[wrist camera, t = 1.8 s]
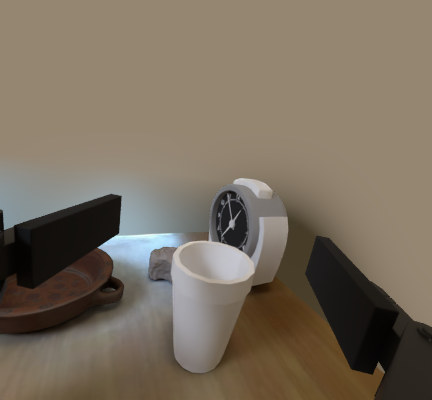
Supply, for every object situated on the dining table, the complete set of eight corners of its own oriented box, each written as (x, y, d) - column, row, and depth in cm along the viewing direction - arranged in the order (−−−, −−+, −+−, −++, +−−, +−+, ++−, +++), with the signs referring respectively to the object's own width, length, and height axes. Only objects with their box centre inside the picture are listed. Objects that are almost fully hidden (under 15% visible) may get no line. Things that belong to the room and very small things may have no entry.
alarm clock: (199, 253, 54) (213, 170, 49) (229, 250, 58) (244, 173, 53) (242, 303, 39) (268, 191, 34) (278, 294, 43) (305, 193, 38)
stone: (206, 288, 41) (210, 260, 39) (150, 295, 37) (153, 264, 36) (194, 264, 48) (197, 240, 47) (146, 268, 44) (148, 241, 43)
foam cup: (147, 340, 29) (157, 249, 26) (201, 311, 35) (215, 236, 32) (192, 407, 22) (213, 296, 19) (248, 357, 29) (270, 268, 26)
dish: (-1, 262, 39) (-3, 236, 37) (133, 268, 43) (135, 245, 42) (-132, 356, 22) (-143, 313, 21) (108, 348, 27) (110, 314, 26)
